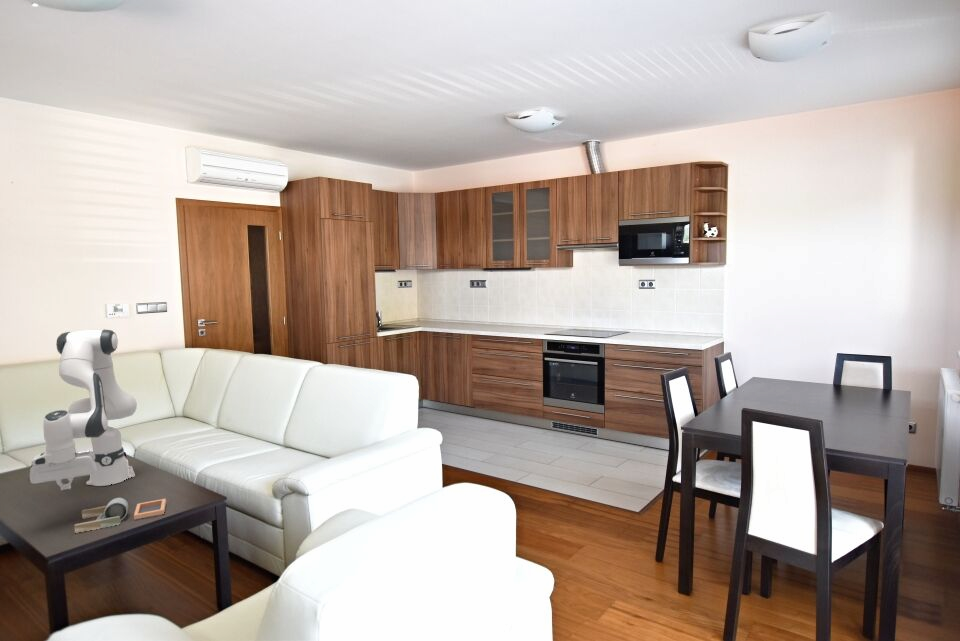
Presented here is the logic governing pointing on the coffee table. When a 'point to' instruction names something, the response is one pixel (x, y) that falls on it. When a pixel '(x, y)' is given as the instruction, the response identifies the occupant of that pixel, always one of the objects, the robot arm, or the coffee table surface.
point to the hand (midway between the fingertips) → (66, 489)
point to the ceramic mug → (115, 509)
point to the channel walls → (97, 523)
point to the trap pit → (150, 509)
